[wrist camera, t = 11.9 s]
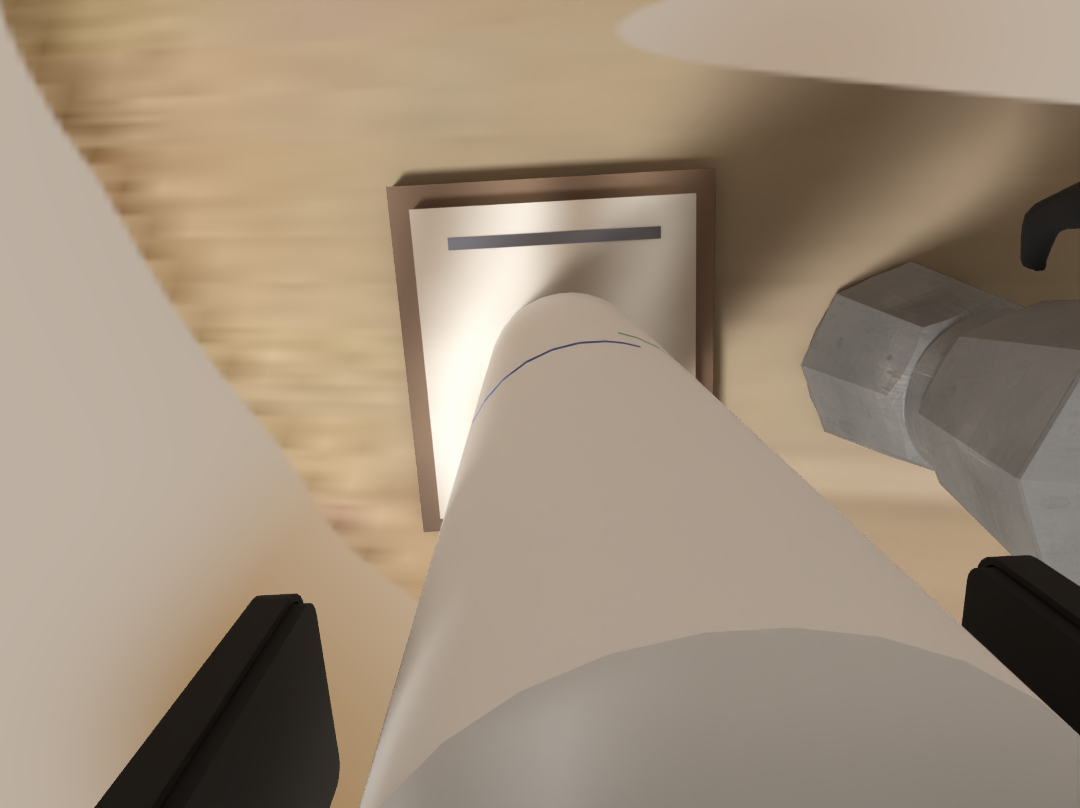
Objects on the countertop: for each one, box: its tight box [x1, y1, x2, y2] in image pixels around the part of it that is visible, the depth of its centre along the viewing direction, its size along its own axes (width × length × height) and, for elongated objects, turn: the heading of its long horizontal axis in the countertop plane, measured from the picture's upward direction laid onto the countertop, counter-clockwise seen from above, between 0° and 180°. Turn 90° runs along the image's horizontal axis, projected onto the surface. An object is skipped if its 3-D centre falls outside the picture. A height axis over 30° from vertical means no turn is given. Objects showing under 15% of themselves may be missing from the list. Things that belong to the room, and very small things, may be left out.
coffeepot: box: [801, 182, 1080, 586], centre depth 23 cm, size 15×9×18 cm, turn 2°
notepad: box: [386, 168, 715, 532], centre depth 31 cm, size 14×16×2 cm
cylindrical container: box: [359, 292, 1080, 808], centre depth 18 cm, size 7×7×25 cm
